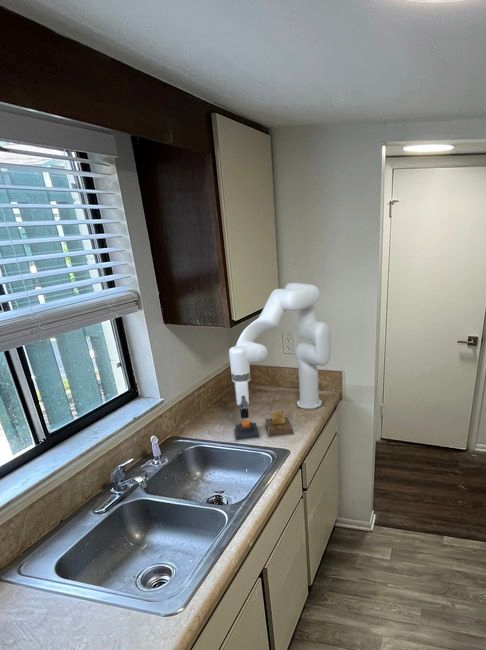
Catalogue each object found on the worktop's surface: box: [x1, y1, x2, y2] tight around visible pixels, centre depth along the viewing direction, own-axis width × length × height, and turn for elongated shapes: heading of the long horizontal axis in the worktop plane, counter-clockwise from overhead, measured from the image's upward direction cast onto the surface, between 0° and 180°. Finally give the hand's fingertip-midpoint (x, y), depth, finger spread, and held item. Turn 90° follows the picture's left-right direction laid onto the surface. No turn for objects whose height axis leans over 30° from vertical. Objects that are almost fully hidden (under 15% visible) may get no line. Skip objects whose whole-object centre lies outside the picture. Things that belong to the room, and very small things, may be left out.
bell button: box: [241, 420, 251, 427], centre depth 187 cm, size 4×4×2 cm
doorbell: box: [234, 421, 259, 441], centre depth 188 cm, size 11×9×4 cm
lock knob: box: [270, 410, 286, 425], centre depth 190 cm, size 6×2×5 cm, turn 105°
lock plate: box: [265, 416, 293, 438], centre depth 192 cm, size 12×10×3 cm
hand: (244, 417), depth 186 cm, fingers closed
